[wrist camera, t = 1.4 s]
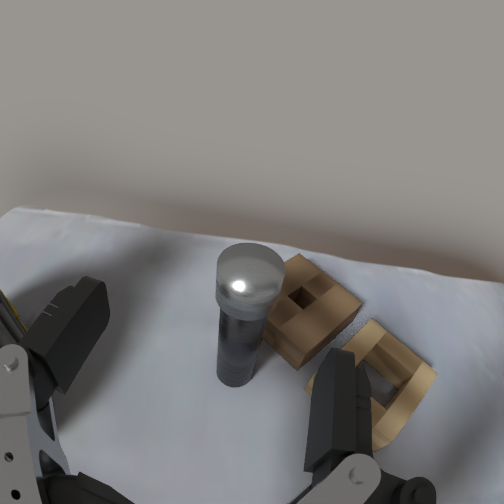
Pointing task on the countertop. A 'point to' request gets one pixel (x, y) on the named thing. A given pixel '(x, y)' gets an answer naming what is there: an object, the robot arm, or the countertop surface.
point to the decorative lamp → (9, 323)
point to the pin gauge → (244, 306)
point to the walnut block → (308, 312)
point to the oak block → (389, 379)
